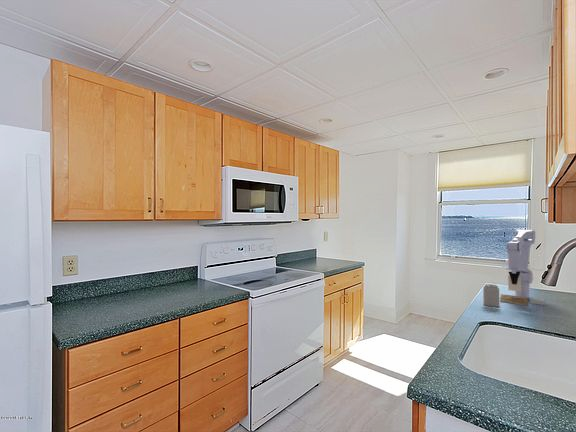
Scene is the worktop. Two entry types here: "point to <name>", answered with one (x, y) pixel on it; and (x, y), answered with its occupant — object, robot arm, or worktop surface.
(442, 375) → the worktop surface
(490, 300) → the can
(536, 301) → the stand
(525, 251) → the robot arm
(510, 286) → the beige rectangular block
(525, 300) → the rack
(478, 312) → the worktop surface
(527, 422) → the worktop surface
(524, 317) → the worktop surface
